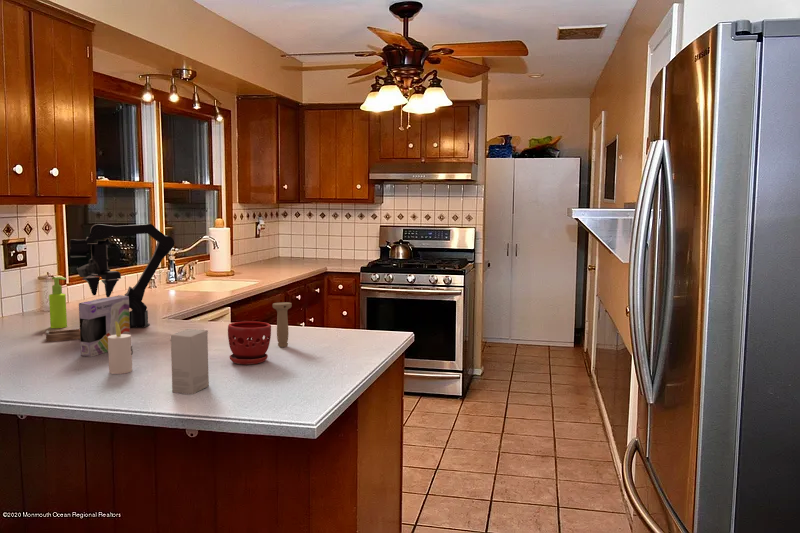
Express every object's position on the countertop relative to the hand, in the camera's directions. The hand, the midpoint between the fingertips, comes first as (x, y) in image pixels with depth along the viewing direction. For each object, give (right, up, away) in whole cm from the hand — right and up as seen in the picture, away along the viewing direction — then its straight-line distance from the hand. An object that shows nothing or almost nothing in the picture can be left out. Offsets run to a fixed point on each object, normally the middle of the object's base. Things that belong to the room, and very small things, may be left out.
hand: (101, 296), depth 264 cm
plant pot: (+70, -18, -53) cm, 90 cm away
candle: (+35, -19, -65) cm, 76 cm away
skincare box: (+61, -21, -84) cm, 107 cm away
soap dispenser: (-19, -13, +6) cm, 23 cm away
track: (-4, -15, -16) cm, 22 cm away
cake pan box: (+18, -17, -38) cm, 45 cm away
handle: (+76, -16, -31) cm, 84 cm away
